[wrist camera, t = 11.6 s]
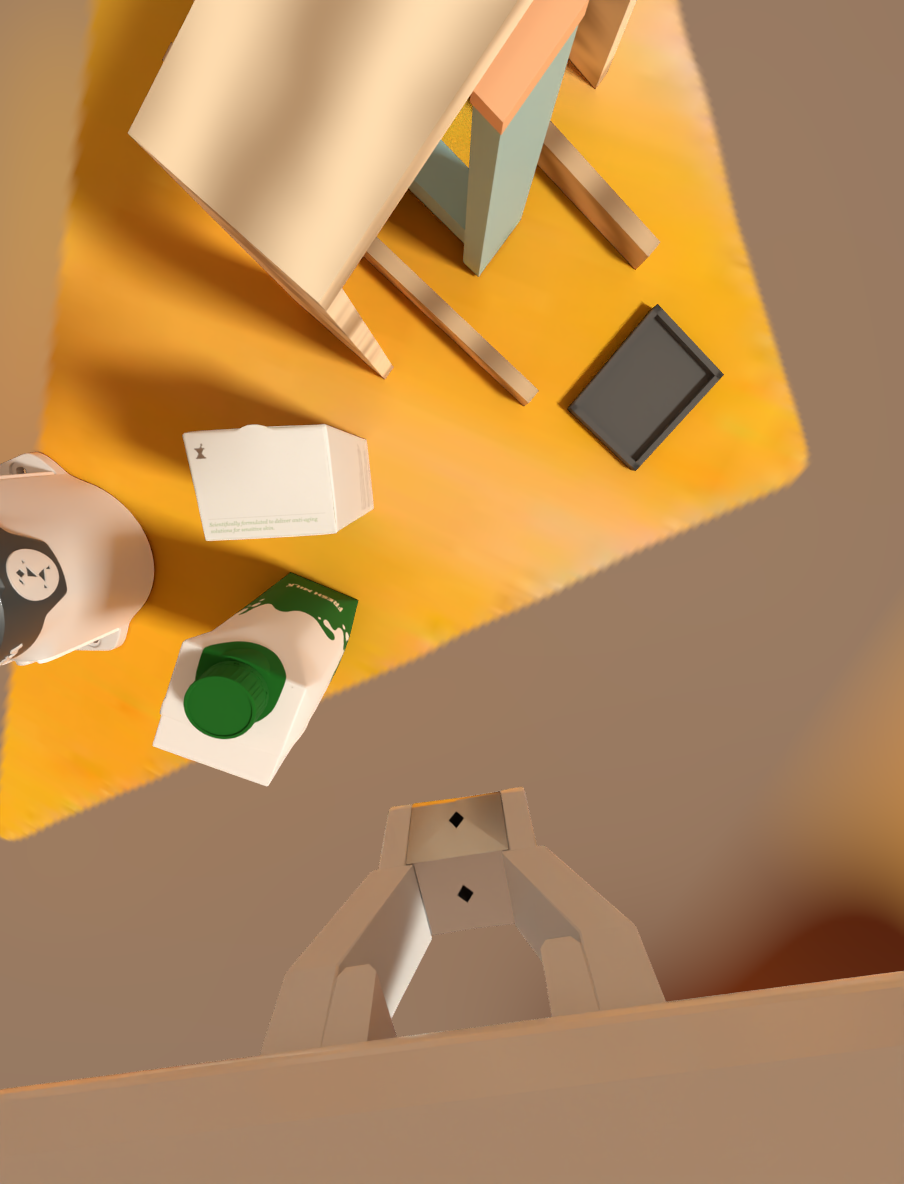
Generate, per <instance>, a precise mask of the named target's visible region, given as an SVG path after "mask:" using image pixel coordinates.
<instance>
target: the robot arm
mask: <svg viewBox="0 0 904 1184" xmlns="http://www.w3.org/2000/svg"><path fill="white" fill-rule="evenodd" d="M24 469H25V470H26V474H25V473H24V471H23V470H24ZM153 579H154V561H153V555H152V551H151V548H150V545H149V542H148V540H147V537H146V535H145V533H144V531H143V529H142V528H141V526H140V524H139V523H138V521H137V520H136V519H135V517H134V516H133V515H132V514H131V513H130V511H129V510H128V509H127V508H126V507H125V506H124V505H123V504H122V503H120V502H119V501H118V500H117V499H116V498H114V497H113V496H112V495H110V494H109V493H107V492H105V491H104V490H102V489H100V488H98V487H96V486H94V485H92V484H90V483H87V482H85V481H82V480H80V479H77V478H75V477H73V476H71V475H70V474H68V473H67V472H66V471H65V470H64V469H63V468H61V467H60V466H59V465H58V464H57V463H56V462H54V461H53V460H52V459H51V458H49V457H48V456H46V455H44V454H42V453H39V452H32V453H25V454H22V455H19V456H17V457H15V458H13V459H10V460H8V461H6V462H4V463H2V464H0V666H1V665H4V664H7V663H10V662H12V661H15V662H16V664H17V665H27V664H31V663H34V662H38V663H45V662H49V661H51V660H54V659H56V658H58V657H60V656H63V655H65V654H67V653H70V652H72V651H74V650H103V651H107V650H112V649H115V648H117V647H119V646H121V645H122V644H123V642H124V641H125V638H126V635H127V631H128V626H129V622H130V621H131V619H132V618H133V616H134V615H135V614H136V613H137V612H138V611H139V610H140V609H141V608H142V606H143V605H144V603H145V602H146V600H147V598H148V596H149V594H150V592H151V588H152V585H153ZM501 797H502V798H501ZM510 924H515V925H516V927H517V929H518V930H519V931H520V933H521V934H522V935H523V937H524V938H525V939H526V941H527V942H528V944H529V945H530V946H531V948H532V949H533V950H534V952H535V953H536V954H537V956H538V957H539V958H540V959H541V961H542V962H543V967H544V973H545V980H546V986H547V992H548V997H549V1003H550V1009H551V1015H552V1017H549V1018H542V1019H535V1020H526V1021H519V1022H511V1023H504V1024H496V1025H488V1026H480V1027H473V1028H465V1029H457V1030H450V1031H443V1032H434V1033H426V1034H419V1035H411V1036H403V1037H397V1035H396V1032H395V1029H394V1026H393V1023H392V1020H391V1018H392V1016H393V1014H394V1012H395V1010H396V1008H397V1006H398V1004H399V1002H400V1000H401V998H402V996H403V994H404V992H405V990H406V988H407V987H408V984H409V983H410V980H411V978H412V977H413V975H414V972H415V971H416V968H417V967H418V965H419V963H420V961H421V959H422V957H423V955H424V953H425V951H426V949H427V947H428V945H429V943H430V941H431V939H432V938H431V936H432V935H438V934H444V933H450V932H456V931H461V930H467V929H473V928H482V927H490V926H499V925H510ZM0 1184H904V971H900V972H893V973H885V974H877V975H870V976H862V977H854V978H846V979H839V980H831V981H824V982H816V983H808V984H800V985H794V986H785V987H777V988H770V989H762V990H754V991H747V992H739V993H731V994H724V995H716V996H708V997H701V998H694V999H685V1000H678V1001H670V1002H666V1001H665V998H664V996H663V994H662V991H661V988H660V986H659V983H658V981H657V978H656V976H655V973H654V971H653V968H652V966H651V963H650V960H649V958H648V956H647V953H646V950H645V948H644V946H643V943H642V940H641V938H640V935H639V933H638V931H637V928H636V925H634V924H633V923H632V922H631V921H630V920H629V919H628V918H626V917H625V916H624V915H623V914H622V913H621V912H620V911H619V910H617V909H616V908H615V907H614V906H613V905H612V904H611V903H609V902H608V901H607V900H606V899H605V898H604V897H603V896H601V895H600V894H599V893H598V892H597V891H596V890H595V889H593V888H592V887H591V886H590V885H589V884H588V883H586V881H584V880H583V879H582V878H581V877H580V876H578V874H576V873H575V872H574V871H573V870H572V869H570V867H568V866H567V865H566V864H565V863H564V862H563V861H562V860H560V859H559V858H558V857H557V856H556V855H555V854H554V853H552V852H551V851H550V850H549V849H548V848H546V846H544V845H543V846H537V843H536V838H535V834H534V830H533V825H532V821H531V816H530V812H529V808H528V803H527V799H526V794H525V790H524V789H523V787H518V788H512V789H506V790H502V791H501V793H500V791H498V792H492V793H486V794H480V795H473V796H467V797H461V798H454V799H446V800H438V801H430V802H422V803H415V804H410V805H403V806H395V807H391V809H390V811H389V812H388V817H387V823H386V828H385V834H384V840H383V846H382V852H381V858H380V863H379V869H378V870H373V871H371V872H370V873H369V875H368V876H367V877H366V878H365V879H364V881H363V882H362V883H361V884H360V885H359V886H358V888H357V889H356V890H355V891H354V892H353V893H352V895H351V896H350V897H349V898H348V899H347V901H346V902H345V903H344V904H343V905H342V907H341V908H340V909H339V910H338V911H337V913H336V914H335V915H334V916H333V917H332V919H331V920H330V921H329V922H328V923H327V924H326V926H325V927H324V928H323V929H322V930H321V932H320V933H319V934H318V935H317V937H316V938H315V939H314V940H313V941H312V942H311V943H310V945H309V946H308V947H307V948H306V950H305V951H304V952H303V953H302V954H301V955H300V957H299V958H298V959H297V960H296V961H295V963H294V964H293V965H292V966H291V967H290V969H289V970H288V971H287V972H286V974H285V977H284V980H283V983H282V986H281V989H280V992H279V996H278V999H277V1002H276V1005H275V1008H274V1011H273V1014H272V1017H271V1021H270V1024H269V1027H268V1030H267V1033H266V1036H265V1040H264V1043H263V1046H262V1049H261V1052H260V1055H258V1056H250V1057H243V1058H236V1059H227V1060H221V1061H212V1062H204V1063H197V1064H190V1065H182V1066H174V1067H166V1068H159V1069H151V1070H143V1071H136V1072H129V1073H121V1074H113V1075H106V1076H98V1077H90V1078H82V1079H75V1080H67V1081H59V1082H52V1083H45V1084H37V1085H29V1086H21V1087H14V1088H6V1089H0Z"/></svg>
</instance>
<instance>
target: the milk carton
mask: <svg viewBox="0 0 904 1184" xmlns="http://www.w3.org/2000/svg"><path fill="white" fill-rule="evenodd" d="M357 604H358V600H356V599H354V598H351V597H349V596H347V595H344V594H342V593H339V592H337V591H335V590H332V589H330V588H327V587H325V586H322V585H320V584H318V583H315V582H313V581H310V580H308V579H306V578H303V577H301V576H298V575H296V574H293V573H291V572H290V573H289V574H288V575H286V576H285V577H284V578H282V579H281V580H280V581H279V582H277V583H276V584H275V585H273V586H272V587H271V588H269V589H268V590H267V591H266V592H264V593H263V594H262V595H261V596H259V597H258V598H257V599H255V600H254V601H252V602H251V603H250V604H248V605H247V606H246V607H244V608H243V609H242V610H240V611H239V612H238V613H236V614H235V615H233V616H232V617H231V618H229V619H228V620H227V621H225V622H224V623H223V624H221V625H220V626H218V627H217V628H216V629H214V630H213V631H211V632H208V633H205V634H202V635H199V636H196V637H193V638H190V639H187V640H185V641H184V642H183V643H182V646H181V649H180V652H179V656H178V659H177V662H176V665H175V668H174V671H173V674H172V678H171V681H170V684H169V687H168V690H167V694H166V697H165V698H164V700H163V703H162V707H161V710H160V714H161V719H160V722H159V725H158V729H157V732H156V735H155V739H154V742H153V746H154V747H157V748H159V749H162V750H165V751H168V752H171V753H174V754H176V755H179V756H182V757H185V758H188V759H191V760H193V761H196V762H199V763H202V764H205V765H208V766H211V767H213V768H216V769H219V770H222V771H225V772H228V773H230V774H233V775H236V776H239V777H242V778H244V779H248V780H250V781H253V782H256V783H259V784H261V785H265V786H268V785H269V784H270V782H271V780H272V778H273V777H274V775H275V774H276V772H277V770H278V768H279V767H280V765H281V764H282V762H283V761H284V759H285V757H286V756H287V754H288V753H289V751H290V750H291V748H292V746H293V745H294V744H295V743H296V741H297V740H298V739H299V738H300V736H301V735H302V734H303V732H304V731H305V729H306V727H307V725H308V722H309V720H310V718H311V717H312V715H313V713H314V711H315V709H316V708H317V706H318V704H319V702H320V700H321V698H322V697H323V695H324V693H325V691H326V689H327V687H328V685H329V683H330V681H331V680H332V678H333V676H334V674H335V672H336V670H337V668H338V665H339V663H340V661H341V658H342V656H343V653H344V651H345V648H346V645H347V642H348V640H349V637H350V633H351V629H352V625H353V620H354V616H355V612H356V608H357Z"/></svg>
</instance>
